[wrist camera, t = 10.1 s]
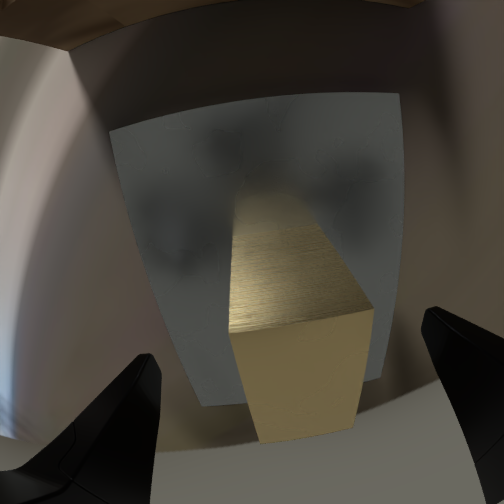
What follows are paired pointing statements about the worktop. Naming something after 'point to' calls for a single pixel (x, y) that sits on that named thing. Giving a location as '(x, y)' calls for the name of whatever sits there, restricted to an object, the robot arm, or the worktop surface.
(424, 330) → the robot arm
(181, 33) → the worktop surface
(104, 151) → the worktop surface
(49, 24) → the walnut box
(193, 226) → the cover plate
